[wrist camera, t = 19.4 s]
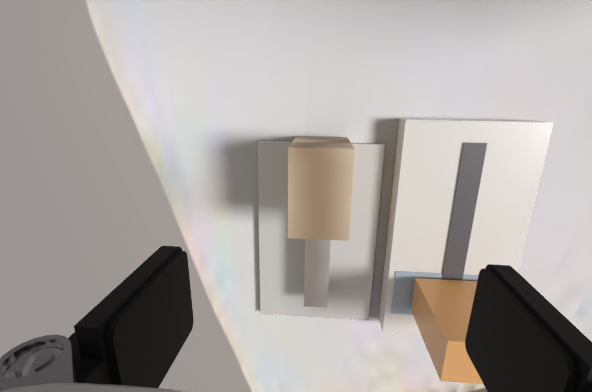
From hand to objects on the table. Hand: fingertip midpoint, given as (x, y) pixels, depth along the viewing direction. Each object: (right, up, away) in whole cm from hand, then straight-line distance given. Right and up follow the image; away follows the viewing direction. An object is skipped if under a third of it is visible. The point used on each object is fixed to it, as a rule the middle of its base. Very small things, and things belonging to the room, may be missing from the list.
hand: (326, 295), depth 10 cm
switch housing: (+12, 0, +17) cm, 21 cm away
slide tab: (+12, -5, +16) cm, 20 cm away
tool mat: (+1, 0, +18) cm, 18 cm away
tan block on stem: (+1, +1, +17) cm, 17 cm away
